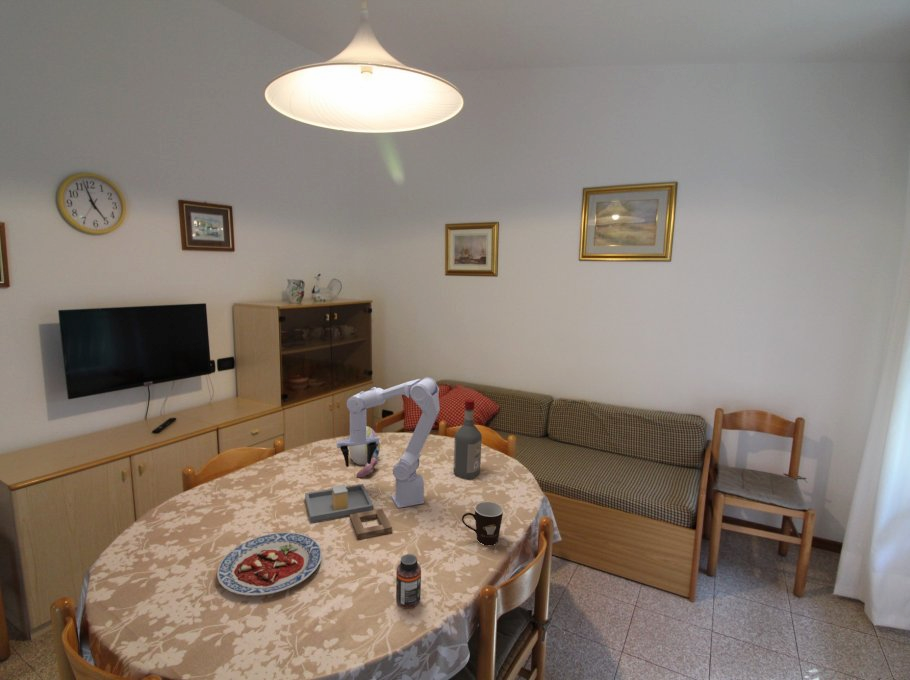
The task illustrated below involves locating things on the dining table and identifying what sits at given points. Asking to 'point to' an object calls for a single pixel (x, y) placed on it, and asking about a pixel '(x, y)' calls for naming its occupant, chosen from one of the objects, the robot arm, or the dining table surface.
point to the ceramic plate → (269, 564)
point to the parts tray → (323, 509)
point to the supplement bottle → (408, 582)
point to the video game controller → (367, 468)
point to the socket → (372, 531)
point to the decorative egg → (363, 449)
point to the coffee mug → (487, 522)
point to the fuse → (339, 497)
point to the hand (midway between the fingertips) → (358, 464)
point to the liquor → (467, 446)
